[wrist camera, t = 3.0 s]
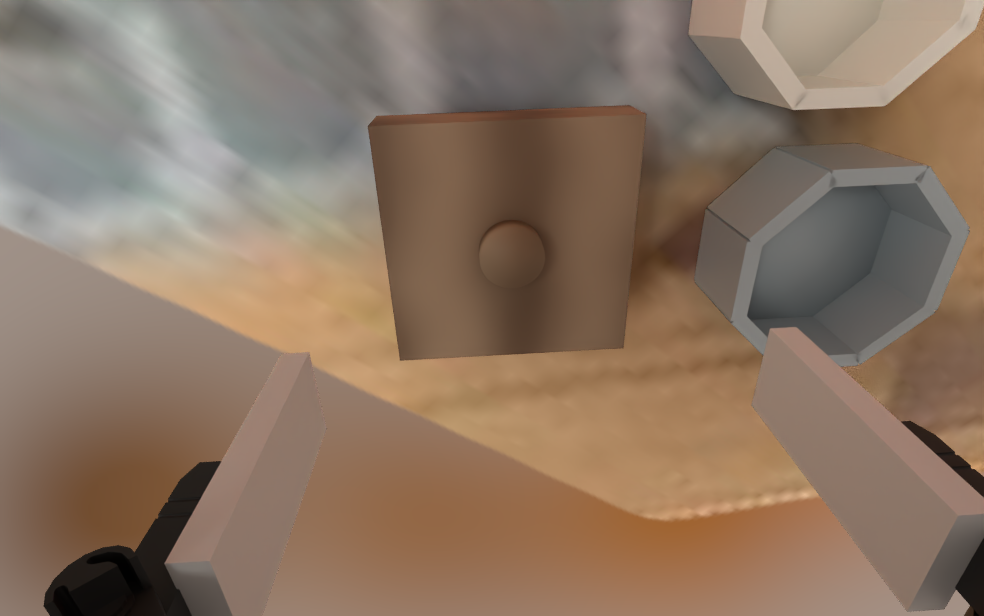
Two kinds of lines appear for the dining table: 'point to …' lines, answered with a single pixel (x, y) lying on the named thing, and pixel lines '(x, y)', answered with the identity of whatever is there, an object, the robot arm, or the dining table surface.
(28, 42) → the dining table surface
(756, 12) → the bowl
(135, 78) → the dining table surface
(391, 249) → the lid
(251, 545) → the robot arm
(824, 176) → the grey bowl
